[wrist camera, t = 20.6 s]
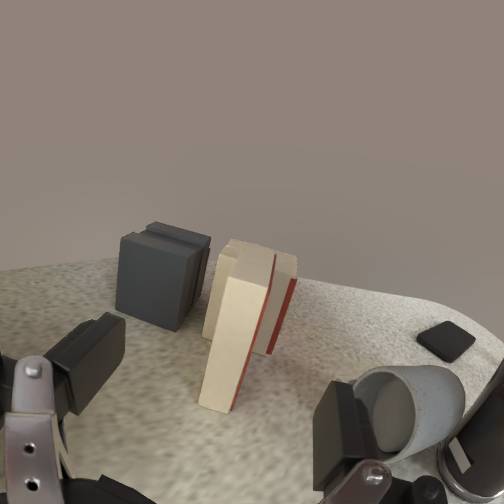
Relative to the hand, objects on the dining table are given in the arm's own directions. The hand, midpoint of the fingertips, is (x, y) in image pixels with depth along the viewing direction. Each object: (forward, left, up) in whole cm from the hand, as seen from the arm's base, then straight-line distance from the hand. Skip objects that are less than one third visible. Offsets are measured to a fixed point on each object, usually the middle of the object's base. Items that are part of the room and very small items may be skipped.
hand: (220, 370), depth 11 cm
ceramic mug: (-14, -9, -11) cm, 19 cm away
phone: (-33, -30, -10) cm, 46 cm away
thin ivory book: (0, -11, -10) cm, 15 cm away
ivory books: (0, -20, -10) cm, 23 cm away
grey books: (+10, -20, -10) cm, 24 cm away
